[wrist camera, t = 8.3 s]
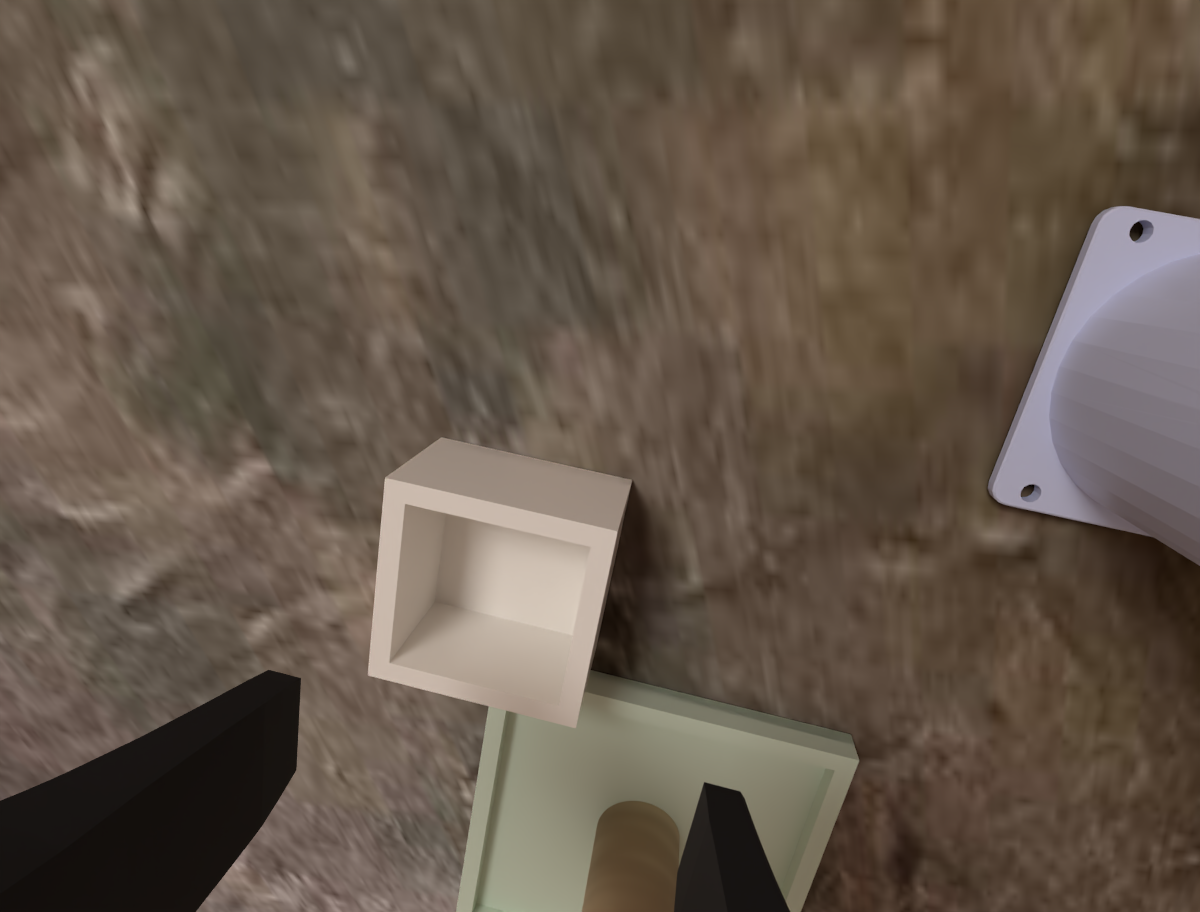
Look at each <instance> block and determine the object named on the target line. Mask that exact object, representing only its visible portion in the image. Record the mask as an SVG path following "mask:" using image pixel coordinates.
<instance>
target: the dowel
mask: <svg viewBox="0 0 1200 912" xmlns="http://www.w3.org/2000/svg"><path fill="white" fill-rule="evenodd" d="M678 868H679V831H678V828H677V826H676V824H675V822H674V821H673V819H672V818H671V817H670V816H669V815H668V814H667V813H666V812H665V811H663V810H662V809H660V808H658V807H657V806H655V805H652V804H649V803H646V802H641V801H625V802H620V803H617V804H615V805H613V806H611V807H609V808H608V809H607V810H605V811H604V812H603V814H602V815H601V816H600V818H599V820H598V824H597V829H596V834H595V840H594V846H593V851H592V857H591V862H590V868H589V874H588V879H587V885H586V890H585V896H584V902H583V907H582V912H674V905H675V893H676V881H677V871H678Z"/></svg>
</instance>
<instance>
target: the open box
mask: <svg viewBox="0 0 1200 912" xmlns="http://www.w3.org/2000/svg"><path fill="white" fill-rule="evenodd" d="M631 484H632V480H630V479H625V478H621V477H617V476H612V475H608V474H603V473H599V472H594V471H590V470H585V469H581V468H576V467H572V466H567V465H563V464H558V463H554V462H550V461H545V460H541V459H536V458H532V457H527V456H523V455H518V454H514V453H509V452H505V451H500V450H496V449H491V448H487V447H483V446H478V445H474V444H469V443H465V442H460V441H456V440H451V439H447V438H442V437H441V438H440V439H438V440H437V441H436V442H434V443H433V444H431V445H430V446H429V447H427V448H426V449H425V450H423V451H422V452H420V453H419V454H418V455H416V456H415V457H413V458H412V459H411V460H409V461H408V462H406V463H405V464H404V465H402V466H401V467H399V468H398V469H397V470H395V471H394V472H392V473H391V474H390V475H388V476H387V477H385V485H384V496H383V508H382V519H381V531H380V542H379V553H378V565H377V576H376V588H375V599H374V611H373V622H372V633H371V645H370V656H369V668H368V676H372V677H376V678H380V679H384V680H388V681H392V682H396V683H400V684H404V685H408V686H412V687H416V688H419V689H423V690H427V691H431V692H435V693H439V694H443V695H447V696H451V697H455V698H459V699H463V700H467V701H470V702H474V703H478V704H482V705H486V706H490V707H494V708H498V709H502V710H506V711H510V712H514V713H517V714H521V715H525V716H529V717H533V718H537V719H541V720H545V721H549V722H553V723H557V724H561V725H565V726H568V727H572V728H576V726H577V722H578V718H579V714H580V710H581V706H582V702H583V698H584V694H585V690H586V686H587V682H588V678H589V675H590V671H591V667H592V663H593V659H594V655H595V651H596V647H597V642H598V638H599V633H600V628H601V624H602V619H603V614H604V610H605V605H606V600H607V596H608V591H609V586H610V582H611V577H612V572H613V568H614V563H615V558H616V554H617V549H618V544H619V540H620V535H621V530H622V526H623V521H624V516H625V512H626V507H627V502H628V498H629V493H630V488H631Z"/></svg>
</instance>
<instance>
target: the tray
mask: <svg viewBox="0 0 1200 912" xmlns="http://www.w3.org/2000/svg"><path fill="white" fill-rule="evenodd" d="M858 763H859V758H858V755H857V752H856V749H855V746H854V742H853V739H852V736H851V734H847V733H843V732H839V731H835V730H831V729H827V728H823V727H819V726H815V725H811V724H807V723H803V722H799V721H795V720H791V719H787V718H783V717H779V716H775V715H771V714H766V713H762V712H758V711H754V710H750V709H746V708H742V707H738V706H734V705H730V704H726V703H722V702H718V701H714V700H710V699H706V698H702V697H698V696H694V695H690V694H686V693H682V692H678V691H674V690H670V689H666V688H661V687H657V686H653V685H649V684H645V683H641V682H637V681H633V680H629V679H625V678H621V677H617V676H613V675H609V674H605V673H601V672H597V671H593V670H591V671H590V675H589V678H588V682H587V686H586V690H585V694H584V698H583V702H582V706H581V710H580V714H579V718H578V722H577V726H576V728H572V727H568V726H565V725H561V724H557V723H553V722H549V721H545V720H541V719H537V718H533V717H529V716H525V715H521V714H517V713H514V712H510V711H506V710H502V709H498V708H494V707H490V706H489V708H488V715H487V721H486V727H485V734H484V740H483V746H482V752H481V759H480V765H479V771H478V777H477V784H476V790H475V796H474V802H473V809H472V815H471V821H470V828H469V834H468V840H467V846H466V853H465V859H464V865H463V871H462V878H461V884H460V890H459V897H458V903H457V909H456V912H582V907H583V902H584V896H585V890H586V885H587V879H588V874H589V868H590V862H591V857H592V851H593V846H594V840H595V834H596V829H597V824H598V820H599V818H600V816H601V815H602V814H603V812H604V811H605V810H607V809H608V808H609V807H611V806H613V805H615V804H617V803H620V802H625V801H641V802H646V803H649V804H652V805H655V806H657V807H658V808H660V809H662V810H663V811H665V812H666V813H667V814H668V815H669V816H670V817H671V818H672V819H673V821H674V822H675V824H676V826H677V828H678V831H679V865H680V861H681V858H682V855H683V851H684V848H685V845H686V841H687V838H688V834H689V831H690V828H691V824H692V821H693V818H694V814H695V811H696V808H697V804H698V801H699V798H700V794H701V791H702V787H703V784H704V782H706V783H710V784H714V785H718V786H721V787H725V788H729V789H733V790H737V791H740V792H741V793H742V795H743V797H744V798H745V801H746V804H747V806H748V809H749V812H750V815H751V818H752V820H753V823H754V826H755V829H756V831H757V834H758V836H759V839H760V842H761V844H762V847H763V849H764V852H765V854H766V857H767V859H768V862H769V864H770V867H771V869H772V871H773V874H774V876H775V879H776V881H777V883H778V886H779V888H780V890H781V892H782V895H783V897H784V899H785V901H786V903H787V906H788V908H789V910H790V912H801V910H802V907H803V905H804V902H805V900H806V897H807V894H808V892H809V889H810V887H811V884H812V882H813V879H814V876H815V874H816V871H817V869H818V866H819V863H820V861H821V858H822V856H823V853H824V851H825V848H826V845H827V843H828V840H829V838H830V835H831V832H832V830H833V827H834V825H835V822H836V820H837V817H838V814H839V812H840V809H841V807H842V804H843V801H844V799H845V796H846V794H847V791H848V789H849V786H850V783H851V781H852V778H853V776H854V773H855V770H856V768H857V765H858Z"/></svg>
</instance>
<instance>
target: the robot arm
mask: <svg viewBox="0 0 1200 912" xmlns="http://www.w3.org/2000/svg"><path fill="white" fill-rule="evenodd" d="M1136 222H1139V223H1141V224H1142V226H1143V234H1142V235H1141V237H1140V238H1139V239H1138V240H1137V241H1135V242H1134V241H1132V240H1131V238H1130V236H1129V233H1130V229H1131V227H1132V226H1133V225H1134V224H1135V223H1136ZM1029 484H1034V491H1033V492H1032V494H1031V495H1029V496H1027V497H1021V496H1020V495H1021V490H1022V489H1023V488H1024V487H1025V486H1027V485H1029ZM988 490H989V493H990V495H991V496H992V497H993V498H994V499H995V500H996V501H998V502H999V503H1001V504H1004V505H1007V506H1012V507H1016V508H1021V509H1026V510H1030V511H1035V512H1039V513H1044V514H1049V515H1053V516H1058V517H1063V518H1067V519H1072V520H1076V521H1081V522H1086V523H1090V524H1095V525H1099V526H1104V527H1109V528H1113V529H1118V530H1122V531H1127V532H1132V533H1136V534H1141V535H1145V536H1150V537H1154V538H1156V539H1157V540H1159V541H1160V542H1162V543H1164V544H1165V545H1167V546H1168V547H1170V548H1172V549H1173V550H1175V551H1177V552H1178V553H1180V554H1181V555H1183V556H1185V557H1186V558H1188V559H1189V560H1191V561H1193V562H1194V563H1196V564H1198V565H1199V566H1200V219H1195V218H1190V217H1184V216H1179V215H1173V214H1168V213H1162V212H1157V211H1151V210H1146V209H1140V208H1135V207H1129V206H1119V207H1111V208H1109V209H1106V210H1104V211H1102V212H1101V213H1100V214H1099V215H1097V216H1096V217H1095V219H1094V221H1093V222H1092V224H1091V226H1090V229H1089V231H1088V234H1087V236H1086V239H1085V241H1084V244H1083V246H1082V249H1081V251H1080V254H1079V256H1078V259H1077V261H1076V264H1075V266H1074V269H1073V271H1072V274H1071V276H1070V279H1069V281H1068V284H1067V287H1066V289H1065V292H1064V294H1063V297H1062V299H1061V302H1060V304H1059V307H1058V309H1057V312H1056V314H1055V317H1054V319H1053V322H1052V324H1051V327H1050V329H1049V332H1048V334H1047V337H1046V339H1045V342H1044V344H1043V347H1042V349H1041V352H1040V354H1039V357H1038V359H1037V362H1036V364H1035V367H1034V369H1033V372H1032V374H1031V377H1030V379H1029V382H1028V384H1027V387H1026V389H1025V392H1024V394H1023V397H1022V400H1021V402H1020V405H1019V407H1018V410H1017V412H1016V415H1015V417H1014V420H1013V422H1012V425H1011V427H1010V430H1009V432H1008V435H1007V437H1006V440H1005V442H1004V445H1003V447H1002V450H1001V452H1000V455H999V457H998V460H997V462H996V465H995V467H994V470H993V472H992V475H991V477H990V480H989V484H988ZM300 685H301V678H298V677H294V676H290V675H286V674H283V673H279V672H275V671H271V670H268V671H266V672H264V673H262V674H260V675H258V676H256V677H254V678H252V679H250V680H248V681H246V682H244V683H242V684H240V685H238V686H237V687H235V688H233V689H231V690H229V691H227V692H225V693H224V694H222V695H220V696H218V697H216V698H214V699H212V700H211V701H209V702H207V703H205V704H203V705H201V706H199V707H197V708H196V709H194V710H192V711H190V712H188V713H186V714H184V715H182V716H180V717H178V718H176V719H175V720H173V721H171V722H169V723H167V724H165V725H163V726H161V727H159V728H157V729H155V730H153V731H152V732H150V733H148V734H146V735H144V736H142V737H140V738H138V739H136V740H134V741H132V742H130V743H128V744H125V745H123V746H121V747H119V748H117V749H115V750H113V751H111V752H109V753H107V754H105V755H102V756H100V757H98V758H96V759H94V760H92V761H90V762H88V763H86V764H84V765H82V766H79V767H77V768H75V769H73V770H71V771H69V772H67V773H65V774H62V775H60V776H58V777H56V778H54V779H51V780H49V781H47V782H44V783H42V784H40V785H37V786H35V787H33V788H30V789H28V790H26V791H23V792H21V793H19V794H16V795H14V796H11V797H9V798H6V799H4V800H1V801H0V912H196V911H197V909H198V908H199V907H200V905H201V904H202V903H203V902H204V900H205V899H206V898H207V897H208V895H209V894H210V893H211V891H212V890H213V889H214V888H215V886H216V885H217V884H218V882H219V881H220V880H221V879H222V877H223V876H224V875H225V874H226V872H227V871H228V870H229V868H230V867H231V866H232V864H233V863H234V862H235V861H236V859H237V858H238V857H239V855H240V854H241V853H242V852H243V850H244V849H245V848H246V846H247V845H248V844H249V842H250V841H251V840H252V839H253V837H254V836H255V835H256V833H257V832H258V831H259V829H260V828H261V827H262V825H263V823H264V822H265V820H266V819H267V817H268V815H269V814H270V812H271V811H272V809H273V808H274V806H275V804H276V803H277V801H278V800H279V798H280V796H281V795H282V793H283V791H284V790H285V788H286V786H287V785H288V783H289V781H290V780H291V778H292V776H293V775H294V773H295V771H296V766H297V746H298V725H299V705H300ZM674 912H790V910H789V908H788V906H787V903H786V901H785V899H784V897H783V895H782V892H781V890H780V888H779V886H778V883H777V881H776V879H775V876H774V874H773V871H772V869H771V867H770V864H769V862H768V859H767V857H766V854H765V852H764V849H763V847H762V844H761V842H760V839H759V836H758V834H757V831H756V829H755V826H754V823H753V820H752V818H751V815H750V812H749V809H748V806H747V804H746V801H745V798H744V797H743V795H742V793H741V792H740V791H737V790H733V789H729V788H725V787H721V786H718V785H714V784H710V783H706V782H704V784H703V787H702V791H701V794H700V798H699V801H698V804H697V808H696V811H695V814H694V818H693V821H692V824H691V828H690V831H689V834H688V838H687V841H686V845H685V848H684V851H683V855H682V858H681V861H680V865H679V868H678V871H677V881H676V893H675V905H674Z"/></svg>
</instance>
